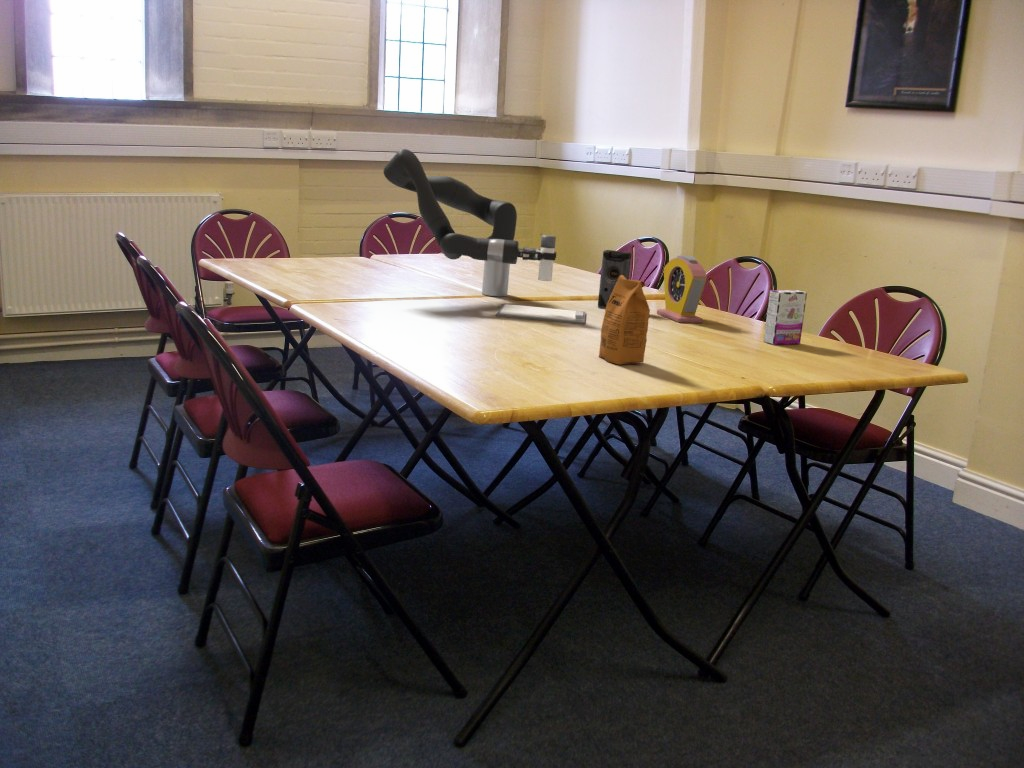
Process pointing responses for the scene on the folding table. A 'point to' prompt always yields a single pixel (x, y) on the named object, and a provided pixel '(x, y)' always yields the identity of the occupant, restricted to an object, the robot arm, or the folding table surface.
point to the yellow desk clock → (683, 289)
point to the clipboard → (541, 314)
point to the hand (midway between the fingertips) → (555, 256)
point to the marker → (546, 265)
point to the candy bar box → (785, 317)
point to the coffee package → (625, 323)
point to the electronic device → (612, 273)
